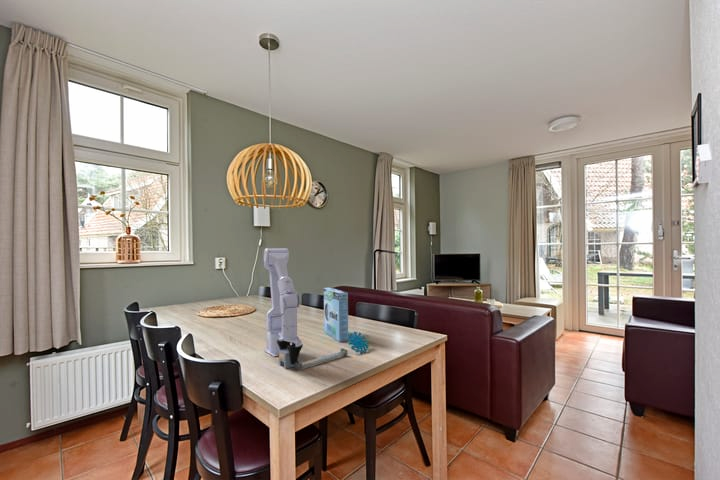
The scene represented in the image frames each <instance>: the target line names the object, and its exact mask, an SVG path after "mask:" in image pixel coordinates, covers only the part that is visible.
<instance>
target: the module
mask: <svg viewBox="0 0 720 480" xmlns="http://www.w3.org/2000/svg"><path fill="white" fill-rule="evenodd" d="M300 353H301V352H300ZM300 353H299V356H298V360H297V361H299V362H300V363H301V361H300V360H301V359H300V358H301V357H300V356H301V355H300ZM278 362H279V363H278V365H279V366H283V368H284V369H286V370H287V369H289V368H293V367H295V364H291V362H290V354H289V350H288V348H287V349H282V350H279V357H278Z"/></svg>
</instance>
